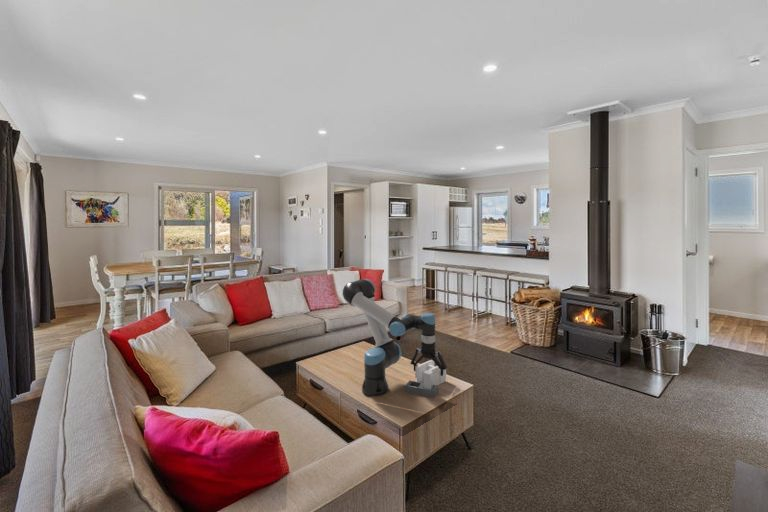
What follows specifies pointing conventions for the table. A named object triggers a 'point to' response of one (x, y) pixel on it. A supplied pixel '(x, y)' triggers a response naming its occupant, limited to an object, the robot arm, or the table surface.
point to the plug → (428, 380)
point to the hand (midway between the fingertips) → (428, 378)
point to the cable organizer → (430, 367)
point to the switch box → (420, 389)
